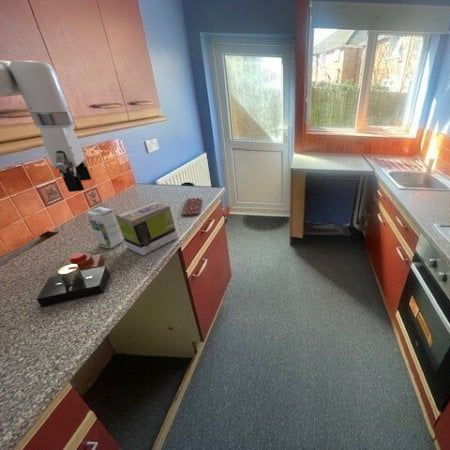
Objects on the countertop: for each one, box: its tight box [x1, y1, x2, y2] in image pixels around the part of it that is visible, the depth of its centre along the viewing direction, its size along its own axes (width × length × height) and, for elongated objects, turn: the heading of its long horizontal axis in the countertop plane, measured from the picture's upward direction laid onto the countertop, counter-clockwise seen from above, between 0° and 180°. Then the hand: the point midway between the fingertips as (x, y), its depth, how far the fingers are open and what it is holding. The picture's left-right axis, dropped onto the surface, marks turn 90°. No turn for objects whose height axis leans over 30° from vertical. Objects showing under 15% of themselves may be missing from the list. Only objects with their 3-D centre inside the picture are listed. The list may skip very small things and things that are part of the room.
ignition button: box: [69, 251, 86, 263], centre depth 82 cm, size 4×4×2 cm
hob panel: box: [36, 265, 109, 308], centre depth 75 cm, size 14×10×3 cm
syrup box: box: [86, 206, 124, 250], centre depth 94 cm, size 6×6×14 cm
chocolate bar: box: [181, 197, 202, 217], centre depth 128 cm, size 7×19×2 cm, turn 15°
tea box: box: [115, 200, 178, 256], centre depth 95 cm, size 15×10×15 cm, turn 152°
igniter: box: [57, 252, 104, 275], centre depth 83 cm, size 10×8×4 cm
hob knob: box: [57, 264, 83, 286], centre depth 73 cm, size 4×4×5 cm
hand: (81, 185), depth 70 cm, fingers open, 9 cm apart
